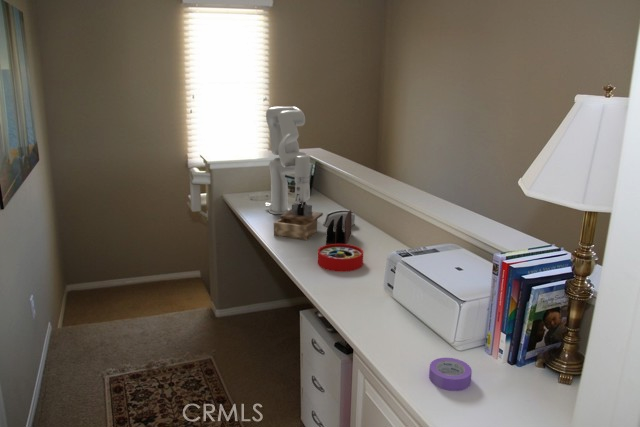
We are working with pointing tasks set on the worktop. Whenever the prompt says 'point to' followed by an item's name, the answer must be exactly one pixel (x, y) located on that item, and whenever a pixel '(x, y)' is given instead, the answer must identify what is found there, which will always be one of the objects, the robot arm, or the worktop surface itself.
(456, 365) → the masking tape
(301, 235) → the wooden box
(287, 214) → the lid
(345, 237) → the letter holder
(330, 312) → the worktop surface
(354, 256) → the toy clock
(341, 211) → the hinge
